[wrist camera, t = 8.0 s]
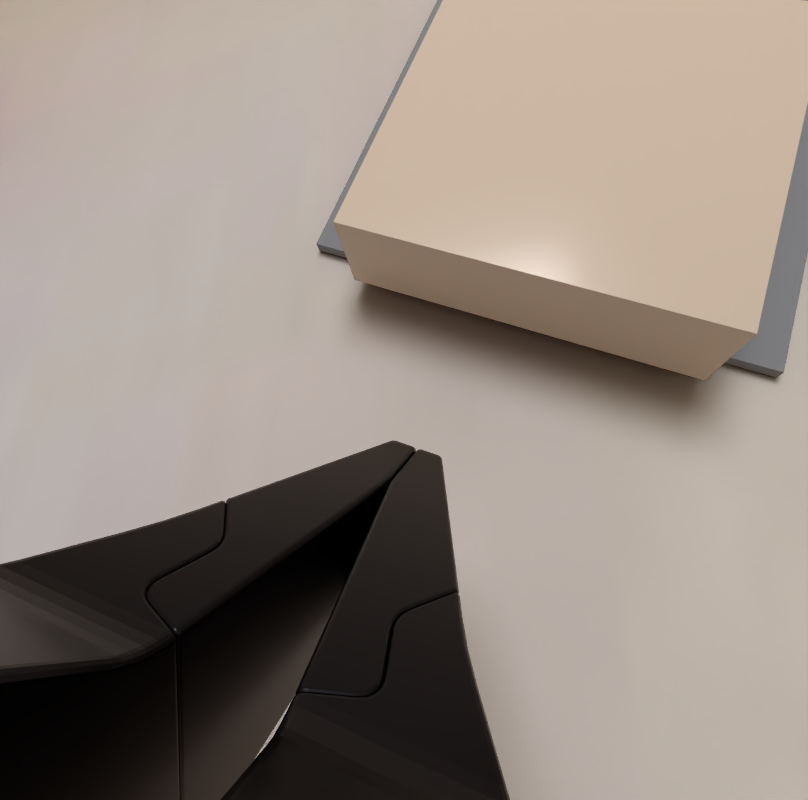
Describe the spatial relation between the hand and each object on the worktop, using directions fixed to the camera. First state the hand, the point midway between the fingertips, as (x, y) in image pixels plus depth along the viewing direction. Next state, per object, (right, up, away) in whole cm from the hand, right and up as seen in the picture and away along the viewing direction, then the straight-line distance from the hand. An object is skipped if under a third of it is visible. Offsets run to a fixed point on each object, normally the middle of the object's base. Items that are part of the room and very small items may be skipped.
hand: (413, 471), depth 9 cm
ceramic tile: (+3, +4, +6) cm, 8 cm away
